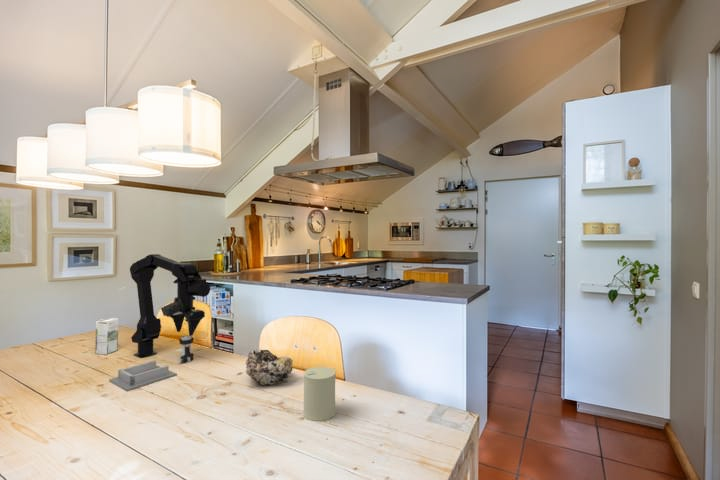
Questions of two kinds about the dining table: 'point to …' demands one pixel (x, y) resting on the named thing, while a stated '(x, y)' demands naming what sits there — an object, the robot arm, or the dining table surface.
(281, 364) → the mineral specimen
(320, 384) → the can
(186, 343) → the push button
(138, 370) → the dock
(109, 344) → the syrup box
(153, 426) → the dining table surface
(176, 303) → the robot arm
